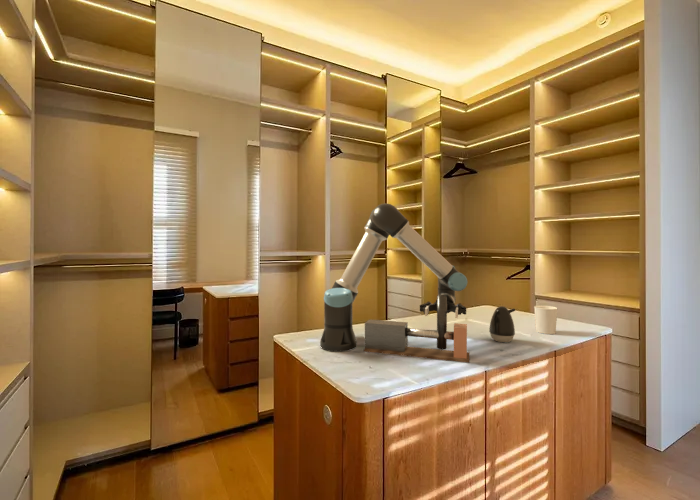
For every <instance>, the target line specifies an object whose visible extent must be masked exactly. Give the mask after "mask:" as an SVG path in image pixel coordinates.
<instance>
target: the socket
mask: <svg viewBox="0 0 700 500" xmlns="http://www.w3.org/2000/svg"><path fill="white" fill-rule="evenodd" d="M453 332H454V340H453V351H454V357H455V358H465V359H467V352H468V350H467V348H468V324H467V323H456V322H455V323H454V324H453Z"/></svg>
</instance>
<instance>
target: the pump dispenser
mask: <svg viewBox="0 0 700 500" xmlns="http://www.w3.org/2000/svg"><path fill="white" fill-rule="evenodd" d="M514 312H516V309H515V308H511V309H508V307H506V306H504V305H503V306H501V305H500V306H498V307H496V309H495V310H494V312H492V313H493V314H492V316H491V319H490V324H489V333H490V334H489V335H490V337H491V338H492V340H494V341H495V342H498V343H502V342H507V343H510V342H511V341H513V339H514V337H515V334H516V330H515V324H514V319H513V316H512V314H511V313H514Z"/></svg>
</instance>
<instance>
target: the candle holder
mask: <svg viewBox="0 0 700 500" xmlns="http://www.w3.org/2000/svg"><path fill="white" fill-rule="evenodd" d="M533 309H534V322H535V323H534V326H535V332H536V333H538V332H539V333H538V334H542V333H544V334H543V335H555V334H556V330H557V321H558V307H556V306H552V305H534V306H533Z"/></svg>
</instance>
